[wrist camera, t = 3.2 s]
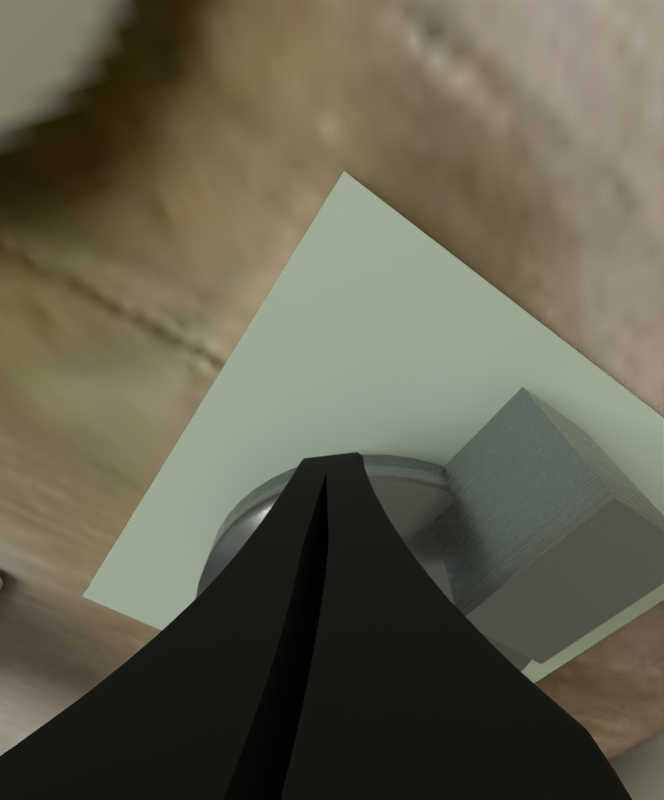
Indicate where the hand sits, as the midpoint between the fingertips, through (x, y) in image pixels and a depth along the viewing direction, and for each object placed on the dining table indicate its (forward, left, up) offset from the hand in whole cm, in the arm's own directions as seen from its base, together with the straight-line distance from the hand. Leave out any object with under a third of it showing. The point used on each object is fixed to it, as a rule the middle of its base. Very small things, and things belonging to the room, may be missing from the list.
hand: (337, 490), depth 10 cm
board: (+5, -4, -5) cm, 8 cm away
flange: (+4, -3, -3) cm, 6 cm away
